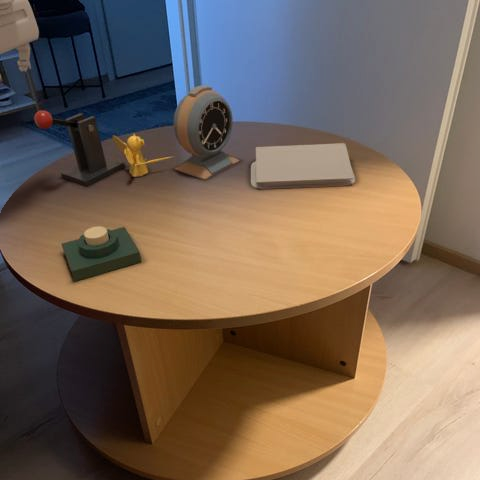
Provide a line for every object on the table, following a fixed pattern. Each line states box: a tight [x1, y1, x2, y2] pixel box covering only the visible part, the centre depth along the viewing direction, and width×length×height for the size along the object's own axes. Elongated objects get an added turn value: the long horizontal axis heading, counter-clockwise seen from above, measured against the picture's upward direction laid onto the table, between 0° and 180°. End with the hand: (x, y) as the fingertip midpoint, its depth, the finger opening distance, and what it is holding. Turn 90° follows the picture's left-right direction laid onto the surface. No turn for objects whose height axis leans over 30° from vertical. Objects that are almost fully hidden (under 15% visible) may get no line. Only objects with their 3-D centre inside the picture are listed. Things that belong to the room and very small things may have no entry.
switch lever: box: [33, 110, 82, 131], centre depth 109 cm, size 13×4×4 cm, turn 144°
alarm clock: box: [172, 85, 241, 181], centre depth 115 cm, size 14×10×18 cm
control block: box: [61, 226, 143, 282], centre depth 91 cm, size 12×10×4 cm
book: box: [250, 142, 356, 190], centre depth 113 cm, size 15×23×4 cm, turn 89°
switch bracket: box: [60, 112, 126, 187], centre depth 117 cm, size 12×9×13 cm
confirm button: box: [83, 226, 109, 246], centre depth 89 cm, size 4×4×2 cm
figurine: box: [111, 132, 175, 178], centre depth 117 cm, size 12×12×9 cm
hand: (11, 77), depth 96 cm, fingers open, 8 cm apart
